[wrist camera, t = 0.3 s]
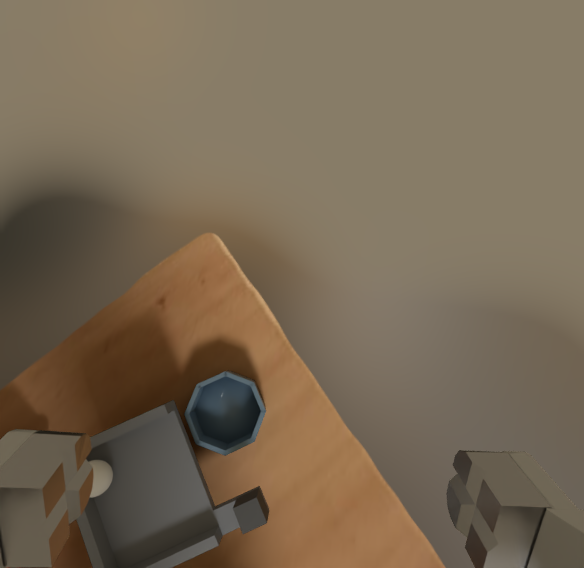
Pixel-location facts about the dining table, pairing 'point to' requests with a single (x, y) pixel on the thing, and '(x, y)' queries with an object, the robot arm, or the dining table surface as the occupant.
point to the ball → (100, 477)
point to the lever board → (158, 498)
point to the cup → (225, 412)
